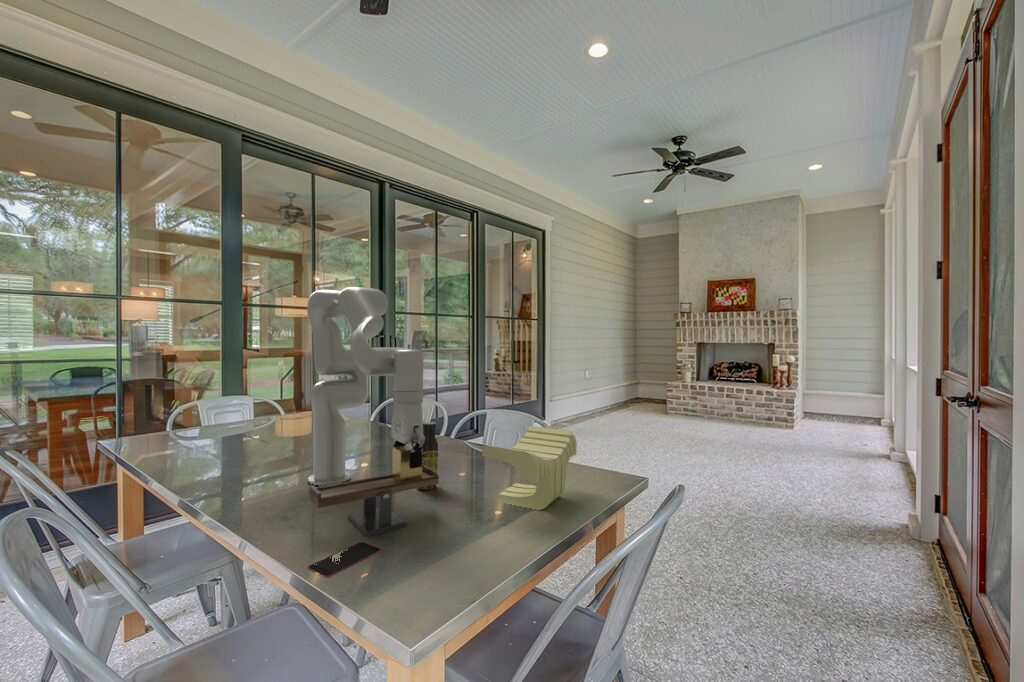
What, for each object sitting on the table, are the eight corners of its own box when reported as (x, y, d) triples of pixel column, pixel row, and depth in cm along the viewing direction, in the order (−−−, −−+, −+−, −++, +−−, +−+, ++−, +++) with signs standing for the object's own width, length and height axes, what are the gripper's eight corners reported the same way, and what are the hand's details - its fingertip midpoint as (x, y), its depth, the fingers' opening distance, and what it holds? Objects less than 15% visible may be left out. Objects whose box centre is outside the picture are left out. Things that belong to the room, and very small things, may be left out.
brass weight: (392, 477, 120) (392, 447, 120) (413, 473, 124) (413, 444, 124) (400, 482, 116) (400, 451, 116) (421, 478, 120) (422, 448, 120)
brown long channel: (308, 500, 109) (309, 484, 109) (424, 478, 127) (424, 465, 127) (318, 511, 102) (318, 494, 102) (438, 486, 121) (438, 472, 121)
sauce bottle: (419, 492, 137) (420, 425, 136) (413, 486, 142) (414, 421, 142) (440, 489, 140) (441, 423, 139) (434, 483, 145) (435, 420, 145)
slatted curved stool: (535, 524, 115) (537, 453, 115) (481, 511, 123) (482, 445, 122) (575, 488, 142) (576, 431, 142) (528, 480, 149) (529, 425, 149)
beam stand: (347, 518, 117) (348, 483, 117) (385, 509, 123) (386, 476, 123) (366, 536, 107) (366, 498, 106) (406, 526, 113) (407, 489, 112)
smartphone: (383, 549, 100) (327, 577, 89) (383, 551, 100) (327, 580, 89) (361, 540, 104) (305, 566, 92) (361, 543, 104) (305, 569, 92)
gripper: (381, 394, 124) (380, 457, 124) (409, 402, 110) (408, 473, 110) (407, 392, 128) (406, 453, 129) (437, 400, 114) (436, 468, 115)
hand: (407, 462), depth 119 cm, fingers open, 9 cm apart
